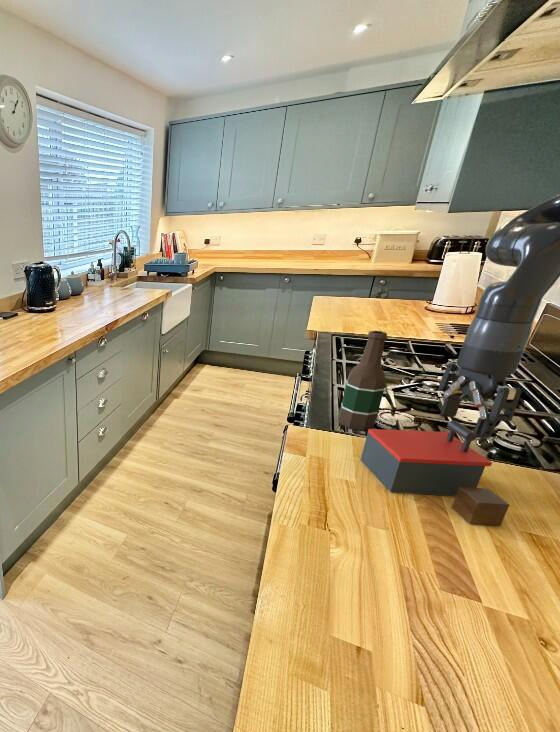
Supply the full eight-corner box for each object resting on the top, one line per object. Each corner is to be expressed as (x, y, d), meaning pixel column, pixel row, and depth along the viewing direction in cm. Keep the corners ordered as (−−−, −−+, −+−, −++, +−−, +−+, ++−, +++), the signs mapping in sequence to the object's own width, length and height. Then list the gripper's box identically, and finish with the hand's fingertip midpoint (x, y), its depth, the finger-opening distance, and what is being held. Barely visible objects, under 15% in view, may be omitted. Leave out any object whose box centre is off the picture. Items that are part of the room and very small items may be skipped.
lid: (446, 435, 85) (454, 413, 83) (490, 466, 75) (500, 442, 73) (367, 432, 88) (373, 410, 86) (399, 461, 78) (406, 438, 76)
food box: (432, 463, 88) (441, 435, 86) (473, 497, 77) (485, 466, 75) (360, 459, 91) (367, 432, 88) (390, 492, 80) (399, 462, 78)
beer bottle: (367, 434, 100) (392, 338, 91) (331, 423, 106) (352, 332, 97) (379, 424, 104) (405, 331, 95) (344, 414, 110) (365, 326, 101)
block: (480, 509, 75) (488, 488, 73) (500, 526, 70) (510, 504, 69) (451, 507, 75) (459, 486, 74) (469, 524, 71) (478, 502, 70)
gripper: (557, 356, 65) (518, 446, 71) (487, 333, 78) (459, 410, 84) (501, 356, 67) (467, 444, 73) (441, 332, 80) (416, 409, 86)
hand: (463, 426), depth 79 cm, fingers open, 8 cm apart
